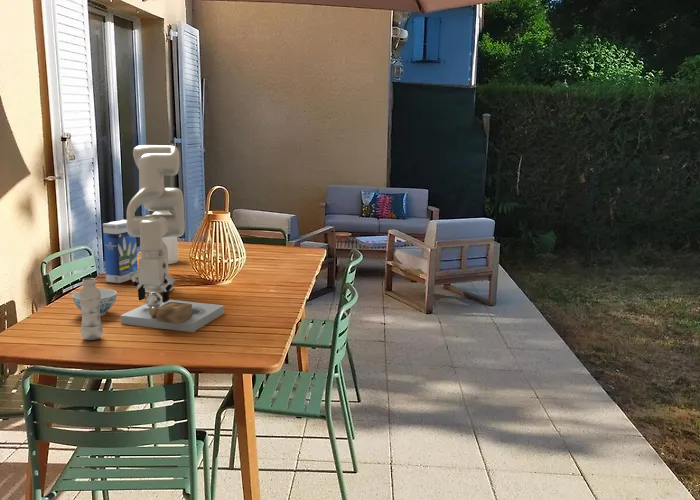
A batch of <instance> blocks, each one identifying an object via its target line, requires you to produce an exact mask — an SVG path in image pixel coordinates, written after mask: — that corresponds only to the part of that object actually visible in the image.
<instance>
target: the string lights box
mask: <svg viewBox="0 0 700 500" xmlns="http://www.w3.org/2000/svg"><path fill="white" fill-rule="evenodd" d="M102 229H103V230H102V233H103V248H104V249H103V250H104V252H103V253H104V264H105V265H104V266H105V282H106V283H114V284H122V283H124V282H128V281H130V280H131V281H132V279H131V276H133V275H135V274H137V273H138V265H139V263H138V248H137V246H138V245H137V237H132V236H130V235H129V234H128V232H127V219H121V220H115V221H110V222H105V223H102Z"/></svg>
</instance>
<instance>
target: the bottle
mask: <svg viewBox="0 0 700 500" xmlns="http://www.w3.org/2000/svg"><path fill="white" fill-rule="evenodd" d="M154 214H172V213H171V211H153V212H152V214H151V215H154ZM178 238H179V237H164V238H162V241H163V242H164V243H165V244H166V246H167V248H168V265H172V264H176V263H178V261H179V243H178V241H179V240H178Z"/></svg>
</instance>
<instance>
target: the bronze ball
mask: <svg viewBox="0 0 700 500" xmlns="http://www.w3.org/2000/svg"><path fill="white" fill-rule="evenodd" d="M156 308H158V307H157V306H153V307H151V308H150V309H149V314H150V316H152V317H156Z"/></svg>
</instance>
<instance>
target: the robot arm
mask: <svg viewBox="0 0 700 500" xmlns="http://www.w3.org/2000/svg"><path fill="white" fill-rule="evenodd" d="M132 155H133V159H134V162H135V163H134V164H135V165H136V167H137V169H138V192H136V194H135V195H133V197H132V198H131V200H130V201H129V202H128V205H127V208H126V220H127V232H128V234H129V235H130V236H132V237H136V238H139V247H140V257H139V259H138V273H137V274H135V275H133V276H131V281H132V282H133V283H132V284H133V285H134V287H135V289H136V290H137V296H138V301H143V300H145V298H146V294H149V293H151V292H157V293H159V294H161V296H162V302H163V303H165V302H167V301H169V300H170V291H173V289H174V284H175V282H176V278H174V277H172V276H171V275H170V274H169V273H170V272H169V264H168V248H167V246H166V244H165V243H164V242H163V241H162V238H164V237H177V238H180V237H182V236H184V234H185V231H186V229H185V228H186V227H185V226H186V225H185V224H186V223H185V222H186V221H185V200H184V199H185V198H184V195H183V191H182V190H181V189H180V188H179V187H165V177H164V176H176V175H178V174H179V170H180V150H179V148H178V147H177V146H175V145H169V144H167V145H163V144H160V145H159V144H142V145H141V144H140V145H137V146H135V147H134V148H133V150H132ZM142 205H143V207H144V209H145V210H146V211H150V212H155V211H169V212H172V213H171V214H154V215H152V214H147V215H141V216H140V215H135V213H136V211H137V210H138V208H139V207H140V206H141V207H142Z"/></svg>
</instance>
